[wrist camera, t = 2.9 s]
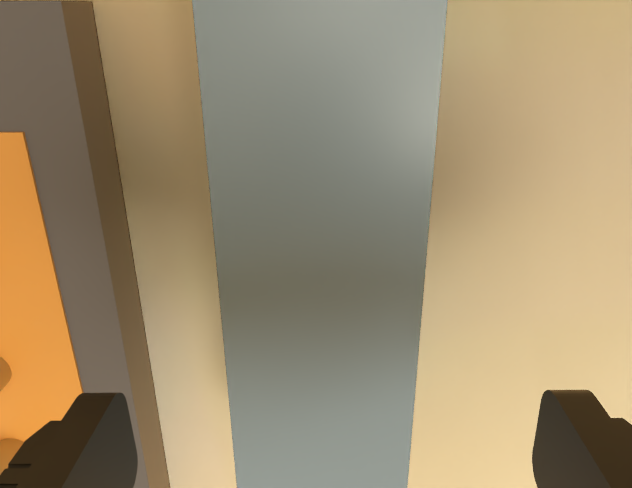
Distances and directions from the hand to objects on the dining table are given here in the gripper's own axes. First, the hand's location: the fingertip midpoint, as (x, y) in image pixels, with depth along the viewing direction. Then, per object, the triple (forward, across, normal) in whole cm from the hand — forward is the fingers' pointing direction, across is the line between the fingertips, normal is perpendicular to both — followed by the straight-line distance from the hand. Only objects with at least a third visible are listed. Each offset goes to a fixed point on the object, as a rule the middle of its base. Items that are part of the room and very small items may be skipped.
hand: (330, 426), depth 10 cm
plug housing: (+9, 0, +2) cm, 10 cm away
